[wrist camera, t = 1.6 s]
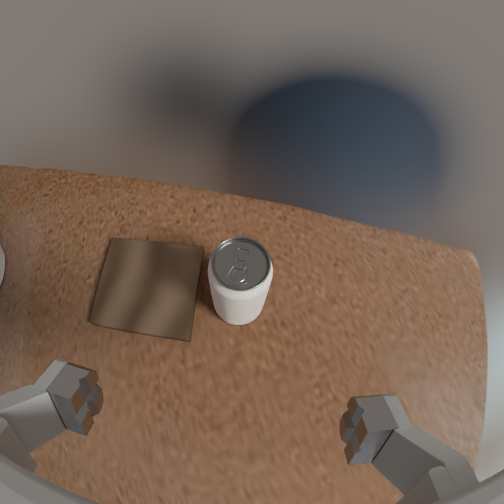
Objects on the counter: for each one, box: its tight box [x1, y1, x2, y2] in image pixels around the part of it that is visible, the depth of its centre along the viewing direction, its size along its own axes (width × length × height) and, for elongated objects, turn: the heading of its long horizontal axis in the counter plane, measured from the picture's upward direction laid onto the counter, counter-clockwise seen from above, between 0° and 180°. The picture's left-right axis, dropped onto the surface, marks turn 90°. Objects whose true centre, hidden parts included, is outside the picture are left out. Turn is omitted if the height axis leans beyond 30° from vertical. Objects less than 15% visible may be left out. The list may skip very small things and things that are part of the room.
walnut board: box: [90, 238, 204, 342], centre depth 38 cm, size 14×13×1 cm
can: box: [208, 237, 273, 325], centre depth 33 cm, size 6×6×12 cm
